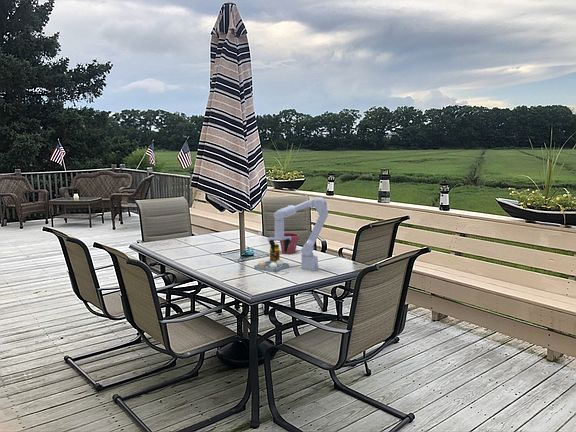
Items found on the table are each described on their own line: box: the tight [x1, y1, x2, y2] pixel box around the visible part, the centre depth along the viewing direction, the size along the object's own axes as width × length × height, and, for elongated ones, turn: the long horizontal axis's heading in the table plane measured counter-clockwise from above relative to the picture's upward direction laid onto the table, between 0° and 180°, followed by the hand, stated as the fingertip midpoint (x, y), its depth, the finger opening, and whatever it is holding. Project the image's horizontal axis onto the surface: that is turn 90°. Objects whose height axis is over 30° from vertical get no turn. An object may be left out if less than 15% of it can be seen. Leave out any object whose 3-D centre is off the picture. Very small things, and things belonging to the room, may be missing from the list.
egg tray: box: [253, 260, 290, 273], centre depth 281 cm, size 15×15×3 cm
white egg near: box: [276, 259, 284, 266], centre depth 282 cm, size 5×5×5 cm
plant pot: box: [279, 232, 300, 255], centre depth 325 cm, size 14×14×13 cm
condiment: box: [269, 243, 281, 262], centre depth 296 cm, size 7×8×12 cm
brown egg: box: [257, 260, 266, 267], centre depth 280 cm, size 5×5×5 cm
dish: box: [274, 270, 290, 276], centre depth 271 cm, size 6×6×1 cm
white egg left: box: [269, 262, 277, 269], centre depth 276 cm, size 5×5×5 cm
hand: (279, 252), depth 283 cm, fingers open, 7 cm apart
